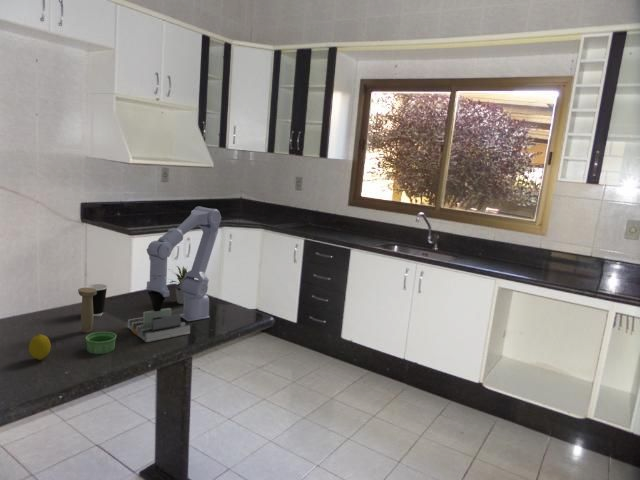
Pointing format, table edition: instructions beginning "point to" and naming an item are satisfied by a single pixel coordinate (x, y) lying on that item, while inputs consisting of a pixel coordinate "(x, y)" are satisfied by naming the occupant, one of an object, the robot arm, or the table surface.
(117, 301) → the table surface
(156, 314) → the panel
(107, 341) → the ramekin
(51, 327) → the table surface
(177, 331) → the rack
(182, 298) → the house plant
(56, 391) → the table surface
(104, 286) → the dixie cup
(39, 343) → the lemon
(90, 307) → the handle
